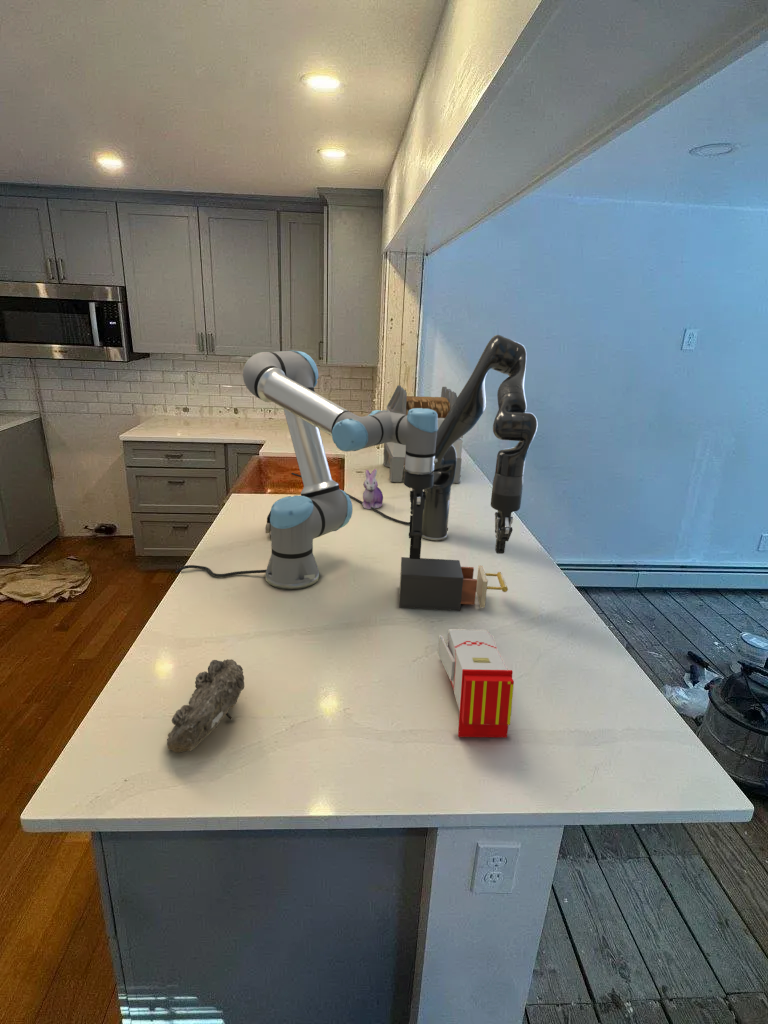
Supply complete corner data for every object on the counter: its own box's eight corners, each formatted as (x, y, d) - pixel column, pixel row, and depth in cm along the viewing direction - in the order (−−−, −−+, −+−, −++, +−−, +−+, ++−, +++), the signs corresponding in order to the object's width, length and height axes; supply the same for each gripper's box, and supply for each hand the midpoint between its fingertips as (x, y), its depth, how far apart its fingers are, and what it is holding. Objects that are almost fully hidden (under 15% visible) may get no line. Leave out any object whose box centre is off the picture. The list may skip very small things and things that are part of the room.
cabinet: (456, 591, 161) (459, 560, 158) (460, 610, 150) (463, 577, 147) (399, 588, 161) (401, 557, 158) (399, 607, 151) (401, 574, 147)
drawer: (499, 591, 160) (503, 566, 157) (505, 609, 150) (509, 582, 148) (427, 587, 160) (429, 562, 157) (428, 604, 151) (430, 578, 148)
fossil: (192, 660, 117) (244, 628, 112) (224, 691, 120) (276, 661, 115) (142, 746, 98) (202, 712, 93) (182, 779, 101) (242, 748, 96)
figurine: (367, 511, 220) (368, 474, 215) (356, 503, 228) (357, 467, 223) (388, 508, 224) (390, 471, 219) (377, 500, 233) (378, 465, 228)
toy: (488, 613, 130) (523, 677, 101) (484, 667, 133) (517, 744, 104) (435, 612, 130) (455, 676, 101) (432, 666, 133) (451, 743, 103)
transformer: (382, 463, 289) (386, 382, 275) (445, 464, 293) (451, 384, 279) (390, 482, 257) (394, 392, 243) (460, 483, 261) (468, 394, 247)
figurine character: (285, 543, 190) (291, 523, 204) (284, 523, 187) (290, 504, 201) (265, 543, 190) (272, 522, 204) (263, 523, 187) (271, 503, 200)
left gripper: (436, 486, 132) (430, 568, 139) (431, 459, 155) (426, 531, 162) (404, 484, 132) (399, 567, 139) (404, 457, 155) (400, 529, 162)
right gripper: (527, 499, 138) (518, 563, 144) (517, 483, 151) (509, 543, 156) (496, 497, 138) (488, 562, 144) (488, 482, 151) (482, 542, 157)
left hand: (414, 547), depth 151 cm, fingers open, 13 cm apart
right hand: (499, 552), depth 150 cm, fingers closed
